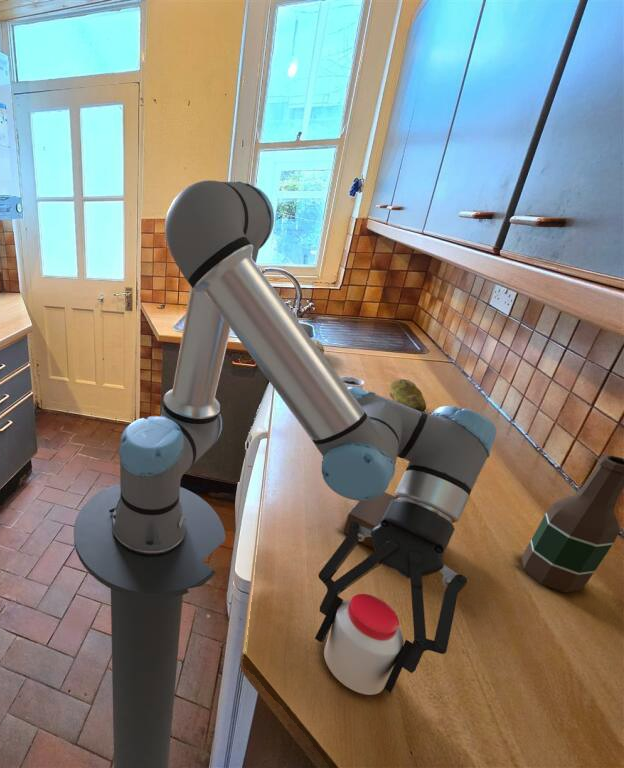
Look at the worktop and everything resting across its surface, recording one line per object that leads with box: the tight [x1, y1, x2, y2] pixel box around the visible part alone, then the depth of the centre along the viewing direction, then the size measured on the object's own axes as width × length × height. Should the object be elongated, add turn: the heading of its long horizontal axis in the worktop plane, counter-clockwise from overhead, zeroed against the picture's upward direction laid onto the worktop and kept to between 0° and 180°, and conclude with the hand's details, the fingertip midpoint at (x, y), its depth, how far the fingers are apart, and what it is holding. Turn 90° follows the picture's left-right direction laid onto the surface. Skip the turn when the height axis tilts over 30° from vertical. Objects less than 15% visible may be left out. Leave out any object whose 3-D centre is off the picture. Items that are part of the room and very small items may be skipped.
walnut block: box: [342, 491, 397, 550], centre depth 78 cm, size 12×12×5 cm
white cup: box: [339, 375, 365, 390], centre depth 124 cm, size 7×7×10 cm
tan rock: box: [310, 337, 325, 355], centre depth 168 cm, size 13×8×20 cm
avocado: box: [389, 379, 427, 413], centre depth 125 cm, size 8×13×8 cm, turn 159°
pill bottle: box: [323, 593, 405, 696], centre depth 55 cm, size 8×8×11 cm
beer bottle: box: [521, 454, 624, 593], centre depth 65 cm, size 8×8×24 cm
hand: (351, 663), depth 53 cm, fingers closed on pill bottle, 8 cm apart
